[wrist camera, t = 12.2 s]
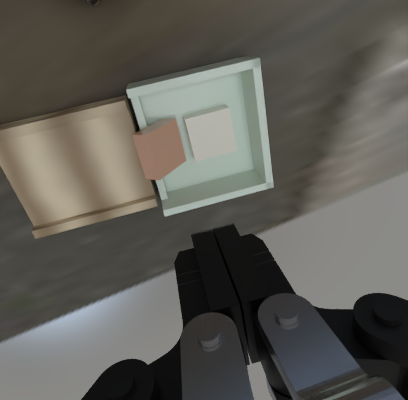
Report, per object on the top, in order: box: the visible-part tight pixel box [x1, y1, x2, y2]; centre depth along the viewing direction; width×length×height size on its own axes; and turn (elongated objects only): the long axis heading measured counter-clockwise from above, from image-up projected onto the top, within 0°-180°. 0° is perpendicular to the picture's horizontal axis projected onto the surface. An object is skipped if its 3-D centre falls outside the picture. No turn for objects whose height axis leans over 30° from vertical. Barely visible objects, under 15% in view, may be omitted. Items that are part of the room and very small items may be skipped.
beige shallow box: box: [0, 95, 158, 239], centre depth 34 cm, size 14×12×4 cm
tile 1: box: [132, 118, 186, 180], centre depth 34 cm, size 5×5×2 cm
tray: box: [126, 56, 274, 216], centre depth 35 cm, size 13×14×5 cm
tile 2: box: [183, 105, 237, 162], centre depth 36 cm, size 5×5×2 cm
